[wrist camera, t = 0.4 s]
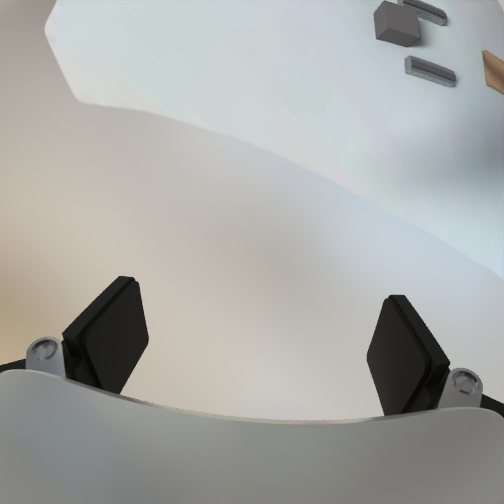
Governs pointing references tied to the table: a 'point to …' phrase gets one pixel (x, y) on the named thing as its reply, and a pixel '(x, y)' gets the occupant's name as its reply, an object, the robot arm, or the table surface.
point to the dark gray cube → (396, 24)
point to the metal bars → (419, 65)
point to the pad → (494, 71)
